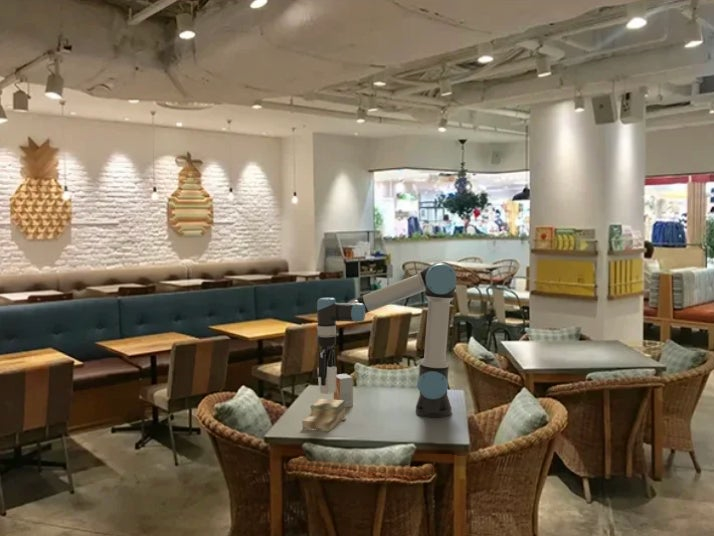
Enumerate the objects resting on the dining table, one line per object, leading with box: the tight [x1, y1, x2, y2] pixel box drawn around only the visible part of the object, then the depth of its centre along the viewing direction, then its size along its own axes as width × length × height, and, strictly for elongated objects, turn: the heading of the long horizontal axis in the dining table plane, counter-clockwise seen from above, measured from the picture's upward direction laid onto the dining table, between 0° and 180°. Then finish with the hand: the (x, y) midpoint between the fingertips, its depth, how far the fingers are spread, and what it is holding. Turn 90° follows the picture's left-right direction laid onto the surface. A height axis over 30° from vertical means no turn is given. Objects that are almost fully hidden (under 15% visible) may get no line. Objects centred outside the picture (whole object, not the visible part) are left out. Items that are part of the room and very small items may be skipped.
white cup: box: [317, 366, 338, 395], centre depth 268 cm, size 8×8×10 cm
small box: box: [333, 373, 354, 408], centre depth 290 cm, size 8×6×13 cm
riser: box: [301, 398, 347, 432], centre depth 264 cm, size 13×20×7 cm, turn 163°
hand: (327, 390), depth 268 cm, fingers closed on white cup, 7 cm apart
